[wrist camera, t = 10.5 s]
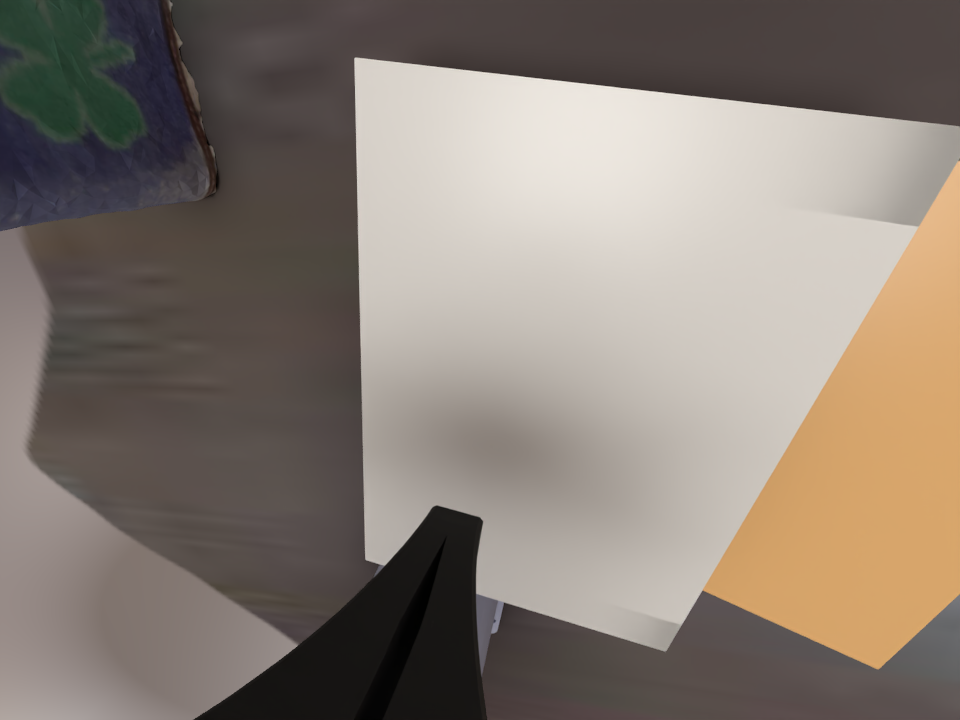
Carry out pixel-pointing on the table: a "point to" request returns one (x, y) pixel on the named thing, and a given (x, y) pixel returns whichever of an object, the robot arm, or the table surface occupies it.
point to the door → (870, 472)
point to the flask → (96, 111)
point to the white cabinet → (607, 317)
